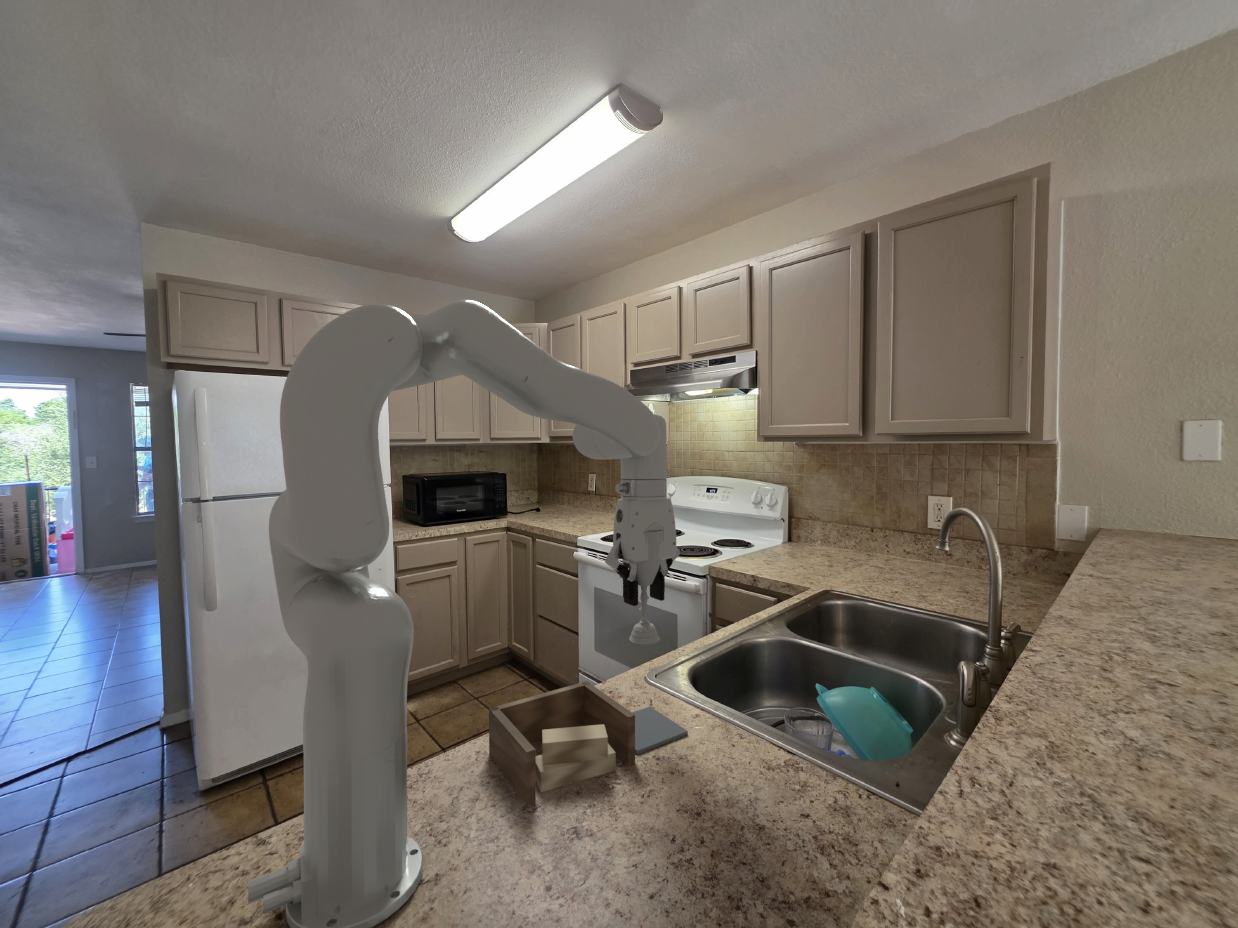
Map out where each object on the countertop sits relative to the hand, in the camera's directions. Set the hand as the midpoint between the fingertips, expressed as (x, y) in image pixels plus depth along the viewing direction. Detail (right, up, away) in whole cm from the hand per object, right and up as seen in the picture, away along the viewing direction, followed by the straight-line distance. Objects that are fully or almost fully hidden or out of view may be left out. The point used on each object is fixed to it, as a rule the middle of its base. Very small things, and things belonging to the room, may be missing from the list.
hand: (644, 600), depth 83 cm
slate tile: (0, -21, 0) cm, 21 cm away
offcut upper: (-10, -19, -11) cm, 24 cm away
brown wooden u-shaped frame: (-13, -21, -8) cm, 26 cm away
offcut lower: (-10, -22, -11) cm, 27 cm away
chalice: (0, -7, 0) cm, 7 cm away
